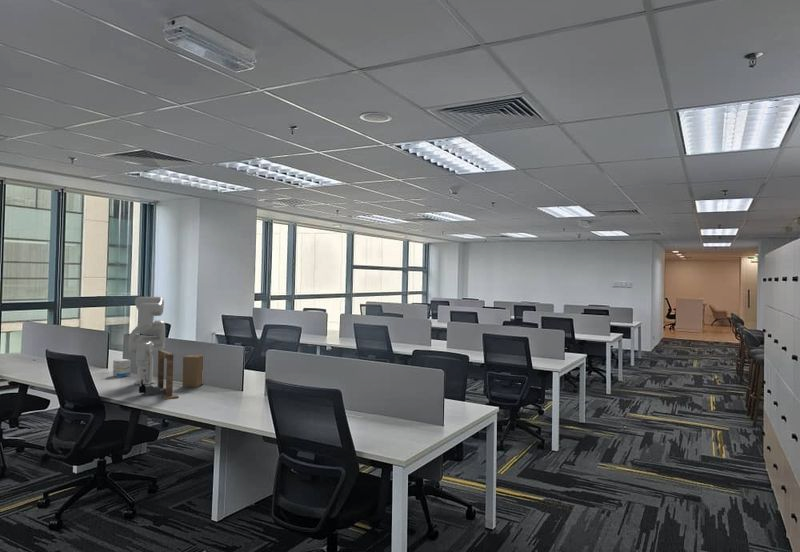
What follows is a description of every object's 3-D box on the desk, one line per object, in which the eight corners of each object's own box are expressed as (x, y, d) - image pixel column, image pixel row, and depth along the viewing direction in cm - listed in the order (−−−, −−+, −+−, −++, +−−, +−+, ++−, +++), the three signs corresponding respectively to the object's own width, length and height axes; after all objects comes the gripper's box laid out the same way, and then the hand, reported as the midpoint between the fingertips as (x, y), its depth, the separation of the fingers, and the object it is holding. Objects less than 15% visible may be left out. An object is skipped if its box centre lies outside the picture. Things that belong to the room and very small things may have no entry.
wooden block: (203, 384, 364) (204, 355, 364) (196, 387, 354) (197, 357, 354) (189, 384, 365) (190, 354, 365) (182, 386, 355) (182, 356, 355)
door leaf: (166, 390, 342) (166, 367, 342) (169, 390, 343) (170, 367, 343) (167, 396, 326) (168, 371, 326) (171, 395, 327) (171, 371, 327)
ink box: (130, 375, 390) (131, 359, 390) (119, 377, 383) (119, 361, 383) (124, 374, 394) (124, 358, 394) (112, 376, 387) (113, 359, 387)
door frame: (151, 390, 344) (152, 349, 344) (164, 388, 348) (165, 348, 349) (164, 399, 319) (165, 355, 319) (178, 397, 324) (179, 354, 324)
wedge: (143, 393, 333) (143, 385, 333) (164, 391, 341) (164, 383, 341) (145, 395, 329) (146, 387, 329) (166, 393, 336) (166, 385, 336)
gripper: (152, 363, 326) (151, 394, 326) (146, 360, 338) (146, 390, 338) (138, 364, 322) (137, 395, 322) (133, 361, 334) (133, 391, 334)
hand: (142, 392), depth 330 cm, fingers closed
